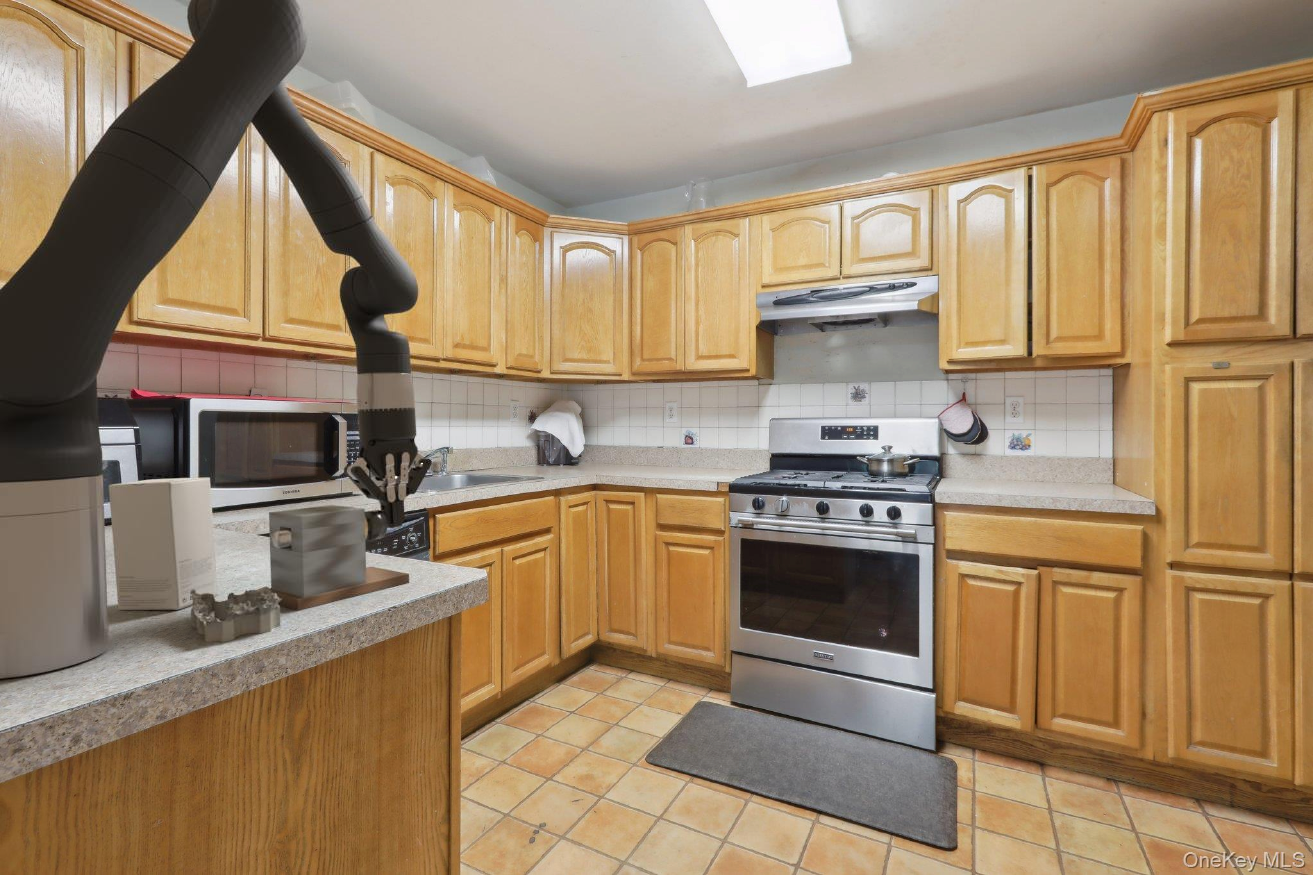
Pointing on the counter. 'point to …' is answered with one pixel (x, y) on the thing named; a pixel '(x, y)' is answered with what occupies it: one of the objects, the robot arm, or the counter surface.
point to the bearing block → (324, 557)
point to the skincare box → (163, 542)
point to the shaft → (373, 529)
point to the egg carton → (235, 614)
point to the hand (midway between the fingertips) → (393, 526)
